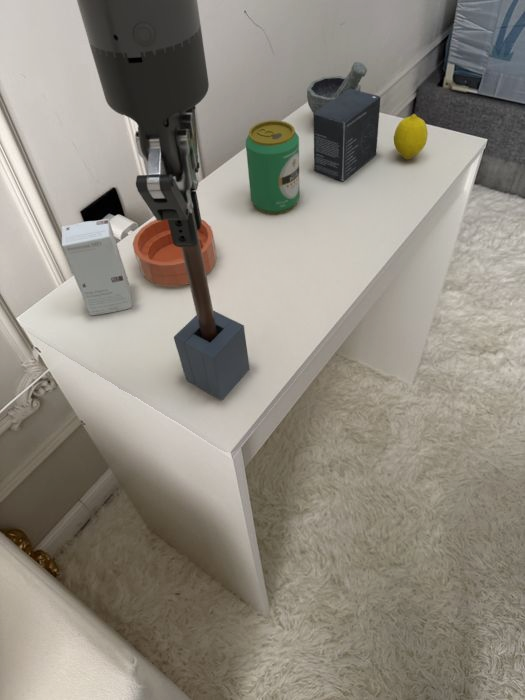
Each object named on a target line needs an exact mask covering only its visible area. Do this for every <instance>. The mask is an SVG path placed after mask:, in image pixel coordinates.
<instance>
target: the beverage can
mask: <svg viewBox="0 0 525 700" xmlns="http://www.w3.org/2000/svg"><path fill="white" fill-rule="evenodd" d="M245 149H246V151H245V152H246V163H247V172H248V182H249V193H250V200H251V203H252V204H253V206H254V207H255V209H257V210H258V211H259V212H261V213H264V214H267V215H280V214H285V213H287V212H290V211H291V210H292V209H294V208H295V207H296V205H297V202H298V200H299V199H300V137H299V136H298V134H297V132H296V130H295V127H294V126H293V125H292V124H291V123H289V122H286V121H283V120H277V119H276V120H265V121H261V122H259V123H256V124H254V125H253V126H251V128H250V129H249V131H248V135H247V137H246V139H245Z"/></svg>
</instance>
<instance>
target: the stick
mask: <svg viewBox="0 0 525 700" xmlns="http://www.w3.org/2000/svg"><path fill="white" fill-rule="evenodd" d="M193 212H194V210H193ZM194 217H195V215H194ZM195 222H196V220H195ZM196 227H197V225H196ZM197 233H198V230H197ZM181 249H182V254H183V258H184V262H185V267H186V271H187V275H188V280H189V289H190V292H191V293H190V294H191V296H192V302H193V305H194V310H195V314H196V315H197V319H198V323H199V327H200V332H201V336H202V339H204V340H206V341H208V342H211V341H212V340H213V339H214V338H215V337H216V336H217V335H218V333H217V328H216V323H215V318H214V313H213V311H214V308H213V303H212V298H211V293H210V288H209V281H208V278H207V274H206V272H205V266H204V261H203V256H202V251H201V246H200V241H199V236H198V243H197V245H196V246H194V247H181Z"/></svg>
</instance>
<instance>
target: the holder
mask: <svg viewBox="0 0 525 700" xmlns="http://www.w3.org/2000/svg"><path fill="white" fill-rule="evenodd" d="M213 313H214V318H215V323H216V328H217V333H218V335H217V336H216V337H215V338H214V339H213V340H212V341H211V342H208V341H206V340H204V339H202V336H201V332H200V327H199V323H198V319H197V314H196V315H195V316H194V317H193V318H191V319H190V321H188V322H187V323H186V324H185V326H183V327H182V328H181V329H180V330H179V331H178V332H177V333H176V334H175V335H174V336H173V341H174V343H175V347H176V351H177V354H178V357H179V360H180V364H181V368H182V371H183V375H184V378H185V381H187V382H189V383H190V384H192V385H194V386H195V387H197V388H199V389H201V390H202V391H204V392H206V393H208V394H209V395H211V396H212V397H214V398H216V399H218V400H220V401H221V402H222V401H223V400H224V399H225V398H226V397H227V396H228V395H229V393H230V392H231V391H232V390H233V389H234V388H235V387H236V386H237V384H239V382H240V381H241V380H242V378H244V376H245V375H246V374H247V373H248V372H249V371H250V370H251V369H250V368H251V367H250V361H249V360H250V359H249V353H248V346H247V339H246V332H245V325H244V324H242V323H240V322H239V321H236V320H234V319H232V318H230V317H228V316H226V315H223V314H222V313H219V312H217V311H216V310H213Z"/></svg>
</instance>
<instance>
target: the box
mask: <svg viewBox="0 0 525 700" xmlns="http://www.w3.org/2000/svg"><path fill="white" fill-rule="evenodd" d="M380 109H381V95H377V94H374V93H369V92H364V91H361V90H360V91H357V90H353V89H348V90H347V91H346V92H344V93H343V94H341V95H340V96H338V97H337V98H335V99H334V100H332V101H331V102H329V103H328V104H326V105H325V106H323V107H322V108H320V109H319V110H317V111H316V112H314V113H313V112H312V115H313V117H312V118H313V171H315V172H317V173H320V174H322V175H325V176H327V177H330V178H333V179H335V180H338V181H340V182H344V181H346V180H347V179H348V178H349V177H351V175H353V174H354V173H355V172H356V171H359V169H360V168H362V167H363V166H364V165H365V164H366V163H368V162H369V161H370V160H371V159H373V158H374V157H375V156H376V155H377V150H378V149H377V148H378V137H379V123H380V111H381V110H380Z"/></svg>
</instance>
